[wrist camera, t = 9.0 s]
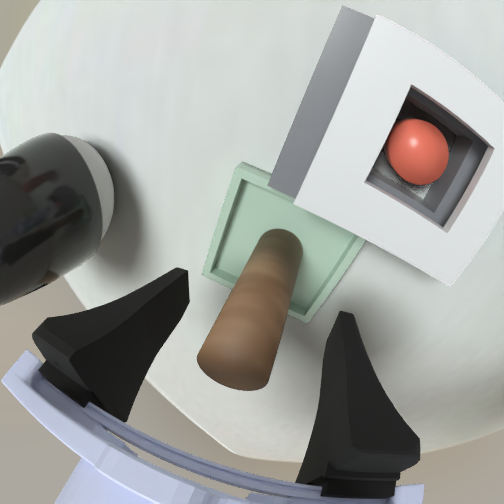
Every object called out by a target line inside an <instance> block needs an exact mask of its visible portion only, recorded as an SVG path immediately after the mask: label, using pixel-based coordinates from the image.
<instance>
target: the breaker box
mask: <svg viewBox="0 0 504 504" xmlns="http://www.w3.org/2000/svg"><path fill="white" fill-rule="evenodd" d="M404 100H407V101H409V102H410V103H412V104H414V105H415V106H417V107H418V108H420V109H421V110H423V111H424V112H426V113H427V114H429V115H430V116H432V117H433V118H435V119H436V120H437V121H439V122H440V123H442V124H443V125H444V126H446V127H447V128H448V129H450V130H451V131H452V132H454V133H455V134H456V135H457V137H456V140H455V142H454V144H453V146H452V148H451V150H450V152H449V157H448V163H447V166H446V169H445V171H444V172H443V174H442V175H441V176H440V177H439V178H438V179H437V180H435V181H434V182H433V184H432V186H431V187H430V189H429V191H428V193H427V194H426V196H425V198H424V200H423V199H422V198H420V197H419V196H417V195H416V194H414V193H412V192H411V191H409V190H408V189H406V188H404V187H403V186H401V185H400V184H398V183H396V182H395V181H393V180H391V179H389V178H388V177H386V176H384V175H383V174H381V173H379V172H377V171H375V170H374V169H372V167H373V165H374V163H375V161H376V159H377V157H378V155H379V153H380V151H381V149H382V147H383V145H384V143H385V141H386V139H387V137H388V135H389V132H390V130H391V128H392V126H393V124H394V122H395V120H396V118H397V115H398V113H399V111H400V109H401V107H402V105H403V102H404ZM267 186H269V187H271V188H273V189H276V190H278V191H280V192H282V193H284V194H287V195H289V196H291V197H293V198H295V201H294V203H293V204H294V205H297V206H299V207H301V208H303V209H305V210H307V211H309V212H311V213H313V214H316V215H318V216H320V217H322V218H324V219H326V220H328V221H330V222H332V223H334V224H336V225H338V226H340V227H342V228H344V229H346V230H348V231H350V232H352V233H354V234H356V235H358V236H360V237H361V238H363V239H365V240H367V241H369V242H371V243H373V244H375V245H377V246H378V247H380V248H382V249H384V250H386V251H388V252H390V253H391V254H393V255H395V256H397V257H399V258H400V259H402V260H404V261H406V262H408V263H409V264H411V265H413V266H415V267H416V268H418V269H420V270H421V271H423V272H425V273H427V274H428V275H430V276H432V277H433V278H435V279H437V280H438V281H440V282H442V283H443V284H445V285H447V286H448V287H451V286H452V285H453V283H454V282H455V281H456V280H457V278H458V277H459V276H460V275H461V273H462V272H463V271H464V269H465V268H466V267H467V265H468V264H469V263H470V261H471V260H472V259H473V257H474V256H475V254H476V253H477V252H478V250H479V249H480V247H481V246H482V244H483V243H484V241H485V240H486V238H487V237H488V235H489V234H490V232H491V231H492V229H493V228H494V226H495V224H496V223H497V221H498V219H499V218H500V216H501V214H502V213H503V211H504V102H503V101H502V100H501V99H500V98H499V97H498V96H497V95H496V94H495V93H494V92H493V91H492V90H491V89H489V88H488V87H487V86H486V85H485V84H484V83H483V82H482V81H480V80H479V79H478V78H477V77H476V76H475V75H473V74H472V73H471V72H470V71H468V70H467V69H466V68H465V67H463V66H462V65H461V64H459V63H458V62H457V61H455V60H454V59H453V58H451V57H450V56H449V55H447V54H446V53H444V52H443V51H441V50H440V49H439V48H437V47H436V46H434V45H432V44H431V43H429V42H428V41H426V40H425V39H423V38H421V37H420V36H418V35H416V34H415V33H413V32H411V31H409V30H408V29H406V28H404V27H402V26H400V25H398V24H397V23H395V22H393V21H391V20H389V19H387V18H385V17H383V16H381V15H378V14H377V15H376V17H375V19H373V18H371V17H369V16H367V15H364V14H362V13H360V12H357V11H355V10H353V9H350V8H347V7H345V6H342V8H341V10H340V12H339V15H338V17H337V19H336V22H335V24H334V26H333V29H332V31H331V33H330V36H329V38H328V40H327V43H326V45H325V47H324V50H323V52H322V54H321V57H320V59H319V61H318V64H317V66H316V68H315V71H314V73H313V76H312V78H311V80H310V83H309V85H308V88H307V90H306V92H305V95H304V97H303V100H302V102H301V104H300V107H299V109H298V112H297V114H296V116H295V119H294V121H293V124H292V126H291V128H290V131H289V133H288V136H287V138H286V141H285V143H284V146H283V148H282V150H281V153H280V155H279V158H278V160H277V163H276V165H275V168H274V170H273V173H272V175H271V177H270V180H269V182H268V185H267Z"/></svg>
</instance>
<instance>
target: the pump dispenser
mask: <svg viewBox="0 0 504 504" xmlns="http://www.w3.org/2000/svg"><path fill="white" fill-rule="evenodd" d="M113 209H114V188H113V183H112V179H111V175H110V172H109V170H108V168H107V166H106V164H105V162H104V160H103V158H102V157H101V156H100V154H99V153H98V152H97V151H96V150H95V149H94V148H93V147H92V146H91V145H90V144H88V143H87V142H85V141H83V140H81V139H79V138H76V137H72V136H67V135H59V134H56V133H45V134H42V135H39V136H36V137H34V138H32V139H30V140H28V141H26V142H24V143H22V144H20V145H19V146H17V147H15V148H14V149H12V150H11V151H9V152H7V153H6V154H5V155H3V156H2V157H0V305H4V304H6V303H9V302H11V301H13V300H16V299H18V298H20V297H23V296H25V295H27V294H29V293H31V292H33V291H36V290H38V289H40V288H42V287H44V286H46V285H48V284H50V283H51V282H53V281H55V280H57V279H58V278H60V277H62V276H64V275H65V274H67V273H69V272H70V271H72V270H74V269H75V268H77V267H78V266H80V265H81V264H83V263H84V262H85V261H87V260H88V259H89V258H90V257H91V256H93V255H94V253H95V252H96V251H97V249H98V247H99V245H100V242H101V240H102V238H103V237H104V235H105V233H106V231H107V229H108V227H109V225H110V222H111V219H112V215H113Z"/></svg>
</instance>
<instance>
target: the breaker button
mask: <svg viewBox="0 0 504 504" xmlns="http://www.w3.org/2000/svg"><path fill="white" fill-rule="evenodd" d="M384 152H385V156H386V158H387V160H388V162H389V164H390V165H391V166H392V167H393V168H394V170H395V171H396V172H397V173H398V174H399V175H400V176H401V177H402V178H403V179H404V180H406V181H408V182H410V183H413V184H417V185H425V184H429V183H432V182H434V181H435V180H437V179H438V178H439V177H440V176H441V175H442V174H443V172H444V171H445V169H446V166H447V163H448V157H449V151H448V145H447V142H446V140H445V138H444V136H443V134H442V133H441V132H440V130H439V129H438V128H437V127H435V126H434V125H433V124H431V123H429V122H427V121H423V120H419V119H415V118H403V119H400V120H398V121H396V122H394V124H393V126H392V128H391V130H390V132H389V135H388V137H387V139H386V141H385V143H384Z"/></svg>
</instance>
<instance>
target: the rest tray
mask: <svg viewBox="0 0 504 504" xmlns="http://www.w3.org/2000/svg"><path fill="white" fill-rule="evenodd" d="M271 175H272V174H271V173H268V172H266V171H264V170H261V169H259V168H256V167H254V166H252V165H249V164H247V163H244V162H242V163H240V164H239V165H237V166H236V168H235V171H234V174H233V176H232V179H231V182H230V185H229V188H228V191H227V195H226V198H225V201H224V204H223V207H222V210H221V213H220V216H219V219H218V222H217V226H216V229H215V232H214V235H213V239H212V242H211V245H210V248H209V252H208V255H207V258H206V262H205V265H204V268H203V272H202V275H203V276H205V277H207V278H209V279H211V280H214V281H216V282H218V283H220V284H222V285H224V286H226V287H228V288H230V289H233V287H234V286H235V284H236V282H237V280H238V278H239V276H240V274H241V273H242V271H243V269H244V267H245V265H246V263H247V261H248V259H249V258H250V256H251V254H252V252H253V250H254V248H255V246H256V244H257V243H258V241H259V239H260V237H261V236H262V235H263V234H264V233H265V232H266V231H268V230H271V229H285V230H288V231H290V232H292V233H293V234H295V235H296V236H297V237H298V239H299V240H300V242H301V244H302V248H303V253H302V258H301V262H300V266H299V270H298V274H297V279H296V283H295V287H294V291H293V295H292V298H291V302H290V306H289V310H288V314H287V315H289V316H292V317H294V318H296V319H299V320H301V321H303V322H305V323H308V322H309V321H310V320H311V318H312V317H313V316H314V314H315V313H316V312H317V310H318V309H319V308H320V306H321V305H322V304H323V302H324V301H325V299H326V298H327V297H328V295H329V294H330V293H331V291H332V290H333V288H334V287H335V285H336V284H337V283H338V281H339V280H340V278H341V277H342V275H343V274H344V272H345V271H346V270H347V268H348V267H349V265H350V264H351V262H352V261H353V259H354V258H355V256H356V255H357V253H358V252H359V250H360V248H361V247H362V245H363V244H364V242H365V241H366V240H365V239H363V238H361V237H360V236H358V235H356V234H354V233H352V232H350V231H348V230H346V229H344V228H342V227H340V226H338V225H336V224H334V223H332V222H330V221H328V220H326V219H324V218H322V217H320V216H318V215H316V214H313V213H311V212H309V211H307V210H305V209H303V208H301V207H299V206H297V205H294V204H293V203H294V201H295V198H293V197H291V196H289V195H287V194H284V193H282V192H280V191H278V190H276V189H273V188H271V187H269V186H267V185H268V182H269V180H270V177H271Z"/></svg>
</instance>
